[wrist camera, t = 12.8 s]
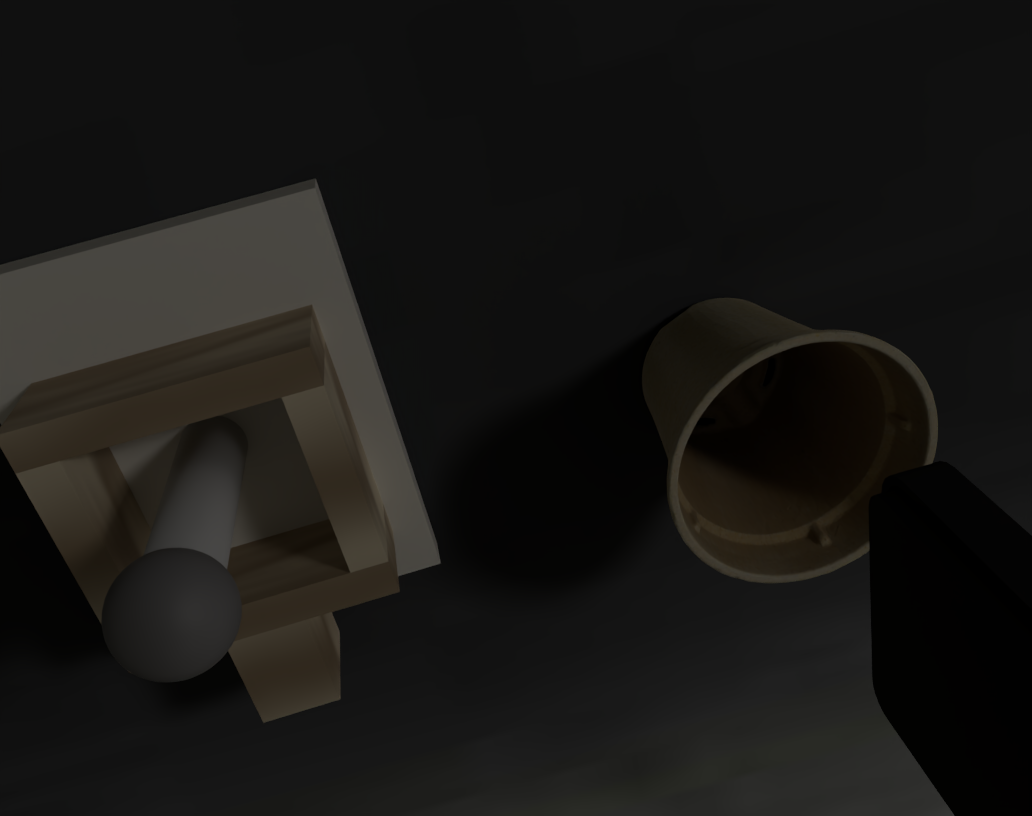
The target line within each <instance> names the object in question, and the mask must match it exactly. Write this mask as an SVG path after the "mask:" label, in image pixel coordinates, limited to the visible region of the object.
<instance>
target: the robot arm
mask: <svg viewBox="0 0 1032 816" xmlns="http://www.w3.org/2000/svg"><path fill="white" fill-rule="evenodd" d="M869 550H870V592H871V635H872V677H873V686H874V690H875V694H876V697H877V699H878V702H879V704H880V706H881V709H882V711H883V712H884V714H885V716H886V717H887V719H888V720H889V722H890V723H891V725H892V726H893V728H894V729H895V730H896V732H897V733H898V735H899V736H900V738H901V739H902V740H903V742H904V743H905V745H906V746H907V748H908V749H909V751H910V752H911V753H912V755H913V756H914V758H915V759H916V761H917V762H918V764H919V765H920V766H921V768H922V769H923V771H924V772H925V774H926V775H927V776H928V778H929V779H930V781H931V782H932V784H933V785H934V787H935V788H936V789H937V791H938V792H939V794H940V795H941V797H942V798H943V800H944V801H945V802H946V804H947V805H948V807H949V808H950V810H951V811H952V812H953V814H954V815H955V816H1032V536H1031V535H1030V534H1029V533H1028V532H1027V531H1026V530H1024V529H1023V528H1022V527H1021V526H1020V525H1019V524H1018V523H1016V522H1015V521H1014V520H1013V519H1012V518H1011V517H1010V516H1009V515H1007V514H1006V513H1005V512H1004V511H1003V510H1002V509H1001V508H1000V507H998V506H997V505H996V504H995V503H994V502H993V501H992V500H991V499H989V498H988V497H987V496H986V495H985V494H984V493H983V492H982V491H980V490H979V489H978V488H977V487H976V486H975V485H974V484H972V483H971V482H970V481H969V480H968V479H967V478H966V477H965V476H963V475H962V474H961V473H960V472H959V471H958V470H957V469H956V468H954V467H953V466H951V465H950V464H948V463H947V462H942V461H939V462H935V463H932V464H928V465H925V466H921V467H918V468H914V469H911V470H907V471H904V472H900V473H897V474H893V475H890V476H888V477H886V478H885V479H884V482H883V484H882V491H881V493H880V494H877V495H874V496H872V497H871V498H870V501H869Z"/></svg>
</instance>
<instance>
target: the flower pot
mask: <svg viewBox="0 0 1032 816" xmlns="http://www.w3.org/2000/svg"><path fill="white" fill-rule="evenodd" d="M771 358H774V359H775V371H774V376H773V378H772V380H771V381H770V382H769V383H768V384H767V385H766V386H763V383H764V379H765V375H766V372H767V369H768V361H769V360H770V359H771ZM642 388H643V394H644V398H645V401H646V404H647V406H648V408H649V410H650V413H651V415H652V417H653V419H654V422H655V424H656V427H657V430H658V432H659V435H660V438H661V441H662V443H663V446H664V449H665V452H666V454H667V457H668V470H667V497H668V503H669V508H670V512H671V515H672V518H673V521H674V523H675V526H676V528H677V530H678V531H679V533H680V535H681V537H682V539H683V540H684V542H685V543H686V544H687V546H688V547H689V548H690V550H691V551H692V552H693V553H694V554H695V555H696V556H697V557H698V558H699V559H700V560H702V561H703V562H704V563H706V564H707V565H709V566H710V567H712V568H714V569H715V570H717V571H719V572H720V573H722V574H725V575H728V576H730V577H735V578H737V579H743V580H745V581H749V582H759V583H786V582H793V581H800V580H806V579H810V578H813V577H817V576H819V575H822V574H826V573H830V572H832V571H834V570H836V569H838V568H840V567H842V566H844V565H846V564H848V563H850V562H852V561H854V560H856V559H858V558H859V557H861V556H862V555H863V554H865V553H867V552H868V551H869V501H870V498H871V497H872V496H874V495H877V494H880V493H881V491H882V484H883V482H884V479H885V478H886V477H888V476H890V475H893V474H897V473H900V472H904V471H907V470H911V469H914V468H918V467H921V466H925V465H928V464H932V463H933V460H934V456H935V451H936V445H937V436H938V420H937V412H936V407H935V402H934V399H933V394H932V391H931V390H930V388H929V385H928V383H927V381H926V379H925V378H924V376H923V374H922V373H921V371H920V370H919V369H918V367H917V366H916V365H915V364H914V363H913V362H912V361H911V359H910V358H909V357H907V356H906V355H905V354H903V353H902V352H901V351H900V350H898V349H896V348H895V347H893V346H891V345H889V344H888V343H886V342H884V341H882V340H880V339H877V338H875V337H872V336H869V335H866V334H862V333H859V332H853V331H846V330H813V329H811V328H808V327H806V326H803V325H801V324H799V323H796V322H794V321H792V320H789V319H787V318H785V317H782V316H780V315H778V314H776V313H773V312H771V311H769V310H767V309H765V308H762V307H760V306H758V305H756V304H754V303H752V302H749V301H746V300H742V299H736V298H716V299H710V300H706V301H702V302H699V303H697V304H694V305H692V306H691V307H689V308H688V309H687V310H686V311H684V312H683V313H682V314H680V315H679V316H678V317H676V318H675V319H674V320H672V321H671V322H669V323H668V324H667V325H666V326H664V327H663V328H662V329H661V330H660V331H659V332H658V334H657V335H656V337H655V338H654V340H653V342H652V344H651V346H650V348H649V350H648V352H647V354H646V357H645V360H644V365H643V371H642ZM699 418H714V419H715V423H710V424H707V425H696V423H697V421H698V420H699Z"/></svg>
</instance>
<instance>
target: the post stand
mask: <svg viewBox="0 0 1032 816" xmlns="http://www.w3.org/2000/svg"><path fill="white" fill-rule="evenodd" d="M308 305H313V308H314V311H315V314H316V317H317V319H318V322H319V325H320V328H321V331H322V333H323V336H324V339H325V342H326V345H327V347H328V350H329V353H330V356H331V359H332V361H333V364H334V367H335V370H336V373H337V376H338V378H339V381H340V384H341V387H342V390H343V392H344V395H345V398H346V401H347V404H348V406H349V409H350V412H351V415H352V418H353V420H354V423H355V426H356V429H357V432H358V434H359V437H360V440H361V443H362V446H363V448H364V451H365V454H366V457H367V460H368V462H369V465H370V468H371V471H372V474H373V476H374V479H375V482H376V485H377V488H378V490H379V493H380V496H381V499H382V502H383V504H384V507H385V510H386V513H387V516H388V518H389V521H390V524H391V527H392V530H393V535H394V544H395V554H396V563H397V572H398V576H400V575H403V574H407V573H410V572H413V571H417V570H420V569H423V568H427V567H430V566H433V565H437V564H440V557H439V552H438V546H437V542H436V539H435V536H434V533H433V530H432V527H431V524H430V521H429V518H428V515H427V512H426V509H425V506H424V503H423V500H422V497H421V494H420V491H419V488H418V485H417V482H416V479H415V476H414V473H413V470H412V467H411V464H410V460H409V457H408V454H407V451H406V448H405V445H404V442H403V439H402V436H401V433H400V430H399V427H398V424H397V421H396V418H395V415H394V412H393V409H392V406H391V403H390V400H389V397H388V394H387V391H386V388H385V385H384V382H383V379H382V376H381V373H380V370H379V367H378V364H377V361H376V358H375V355H374V352H373V349H372V346H371V343H370V340H369V337H368V334H367V331H366V328H365V325H364V322H363V319H362V316H361V313H360V310H359V307H358V304H357V301H356V298H355V295H354V292H353V289H352V286H351V283H350V280H349V277H348V274H347V271H346V268H345V265H344V262H343V259H342V256H341V253H340V250H339V247H338V244H337V241H336V238H335V235H334V232H333V229H332V226H331V223H330V220H329V217H328V214H327V211H326V208H325V205H324V202H323V199H322V196H321V193H320V190H319V187H318V184H317V181H316V178H315V179H312V180H308V181H304V182H301V183H297V184H293V185H290V186H286V187H282V188H279V189H275V190H271V191H268V192H264V193H261V194H257V195H253V196H250V197H246V198H242V199H239V200H235V201H231V202H228V203H224V204H220V205H217V206H213V207H210V208H206V209H202V210H199V211H195V212H191V213H188V214H184V215H180V216H177V217H173V218H169V219H166V220H162V221H159V222H155V223H151V224H148V225H144V226H140V227H137V228H133V229H129V230H126V231H122V232H118V233H115V234H111V235H108V236H104V237H100V238H97V239H93V240H89V241H86V242H82V243H78V244H75V245H71V246H67V247H64V248H60V249H56V250H53V251H49V252H46V253H42V254H38V255H35V256H31V257H27V258H24V259H20V260H16V261H13V262H9V263H5V264H2V265H0V424H1V425H2V424H3V423H4V421H5V420H6V419H7V417H8V416H9V414H10V413H11V411H12V410H13V409H14V407H15V406H16V404H17V403H18V402H19V400H20V399H21V397H22V396H23V395H24V393H25V392H26V390H27V389H28V387H29V386H30V385H31V383H35V382H38V381H42V380H45V379H49V378H52V377H56V376H60V375H63V374H67V373H70V372H74V371H77V370H81V369H84V368H88V367H92V366H95V365H99V364H102V363H106V362H109V361H113V360H116V359H120V358H124V357H127V356H131V355H134V354H138V353H141V352H145V351H148V350H152V349H155V348H159V347H163V346H166V345H170V344H173V343H177V342H180V341H184V340H187V339H191V338H195V337H198V336H202V335H205V334H209V333H212V332H216V331H219V330H223V329H227V328H230V327H234V326H237V325H241V324H244V323H248V322H251V321H255V320H259V319H262V318H266V317H269V316H273V315H276V314H280V313H283V312H287V311H291V310H294V309H298V308H301V307H305V306H308ZM109 448H110V450H111V452H112V454H113V456H114V458H115V460H116V462H117V464H118V466H119V468H120V470H121V472H122V474H123V476H124V477H125V479H126V481H127V483H128V485H129V487H130V489H131V491H132V493H133V495H134V497H135V499H136V501H137V503H138V505H139V507H140V509H141V511H142V513H143V515H144V517H145V519H146V521H147V523H148V525H149V527H150V529H151V533H150V536H149V539H148V542H147V545H146V549H145V552H144V555H143V556H141V557H139V558H138V559H136V560H135V561H133V562H132V563H130V564H129V565H128V566H127V567H126V568H125V569H123V570H122V571H121V573H120V574H119V575H118V576H117V577H116V579H115V580H114V581H113V583H112V585H111V586H110V588H109V590H108V592H107V595H106V597H105V600H104V604H103V609H102V620H101V624H102V632H103V636H104V639H105V642H106V645H107V647H108V649H109V651H110V652H111V654H112V655H113V657H114V658H115V659H116V660H117V662H118V663H119V664H120V665H121V666H123V667H124V668H125V669H126V670H128V671H129V672H131V673H132V674H134V675H136V676H138V677H141V678H144V679H147V680H151V681H156V682H177V681H183V680H187V679H190V678H193V677H195V676H197V675H199V674H201V673H203V672H205V671H207V670H208V669H210V668H211V667H213V666H214V665H215V664H216V663H217V662H219V661H220V660H221V659H222V658H223V656H224V655H225V654H226V653H227V651H228V650H229V649H230V647H231V646H232V644H233V642H234V640H235V638H236V636H237V633H238V630H239V627H240V623H241V616H242V603H241V598H240V593H239V590H238V587H237V585H236V583H235V581H234V579H233V577H232V575H231V574H230V573H229V572H228V570H227V567H228V561H229V555H230V550H231V548H232V547H236V546H239V545H243V544H246V543H249V542H253V541H256V540H260V539H263V538H266V537H270V536H273V535H277V534H280V533H283V532H287V531H290V530H294V529H297V528H300V527H304V526H307V525H311V524H314V523H317V522H321V521H324V520H327V519H329V517H328V515H327V512H326V509H325V507H324V504H323V502H322V499H321V497H320V494H319V492H318V489H317V487H316V484H315V481H314V479H313V476H312V474H311V471H310V469H309V466H308V464H307V461H306V459H305V456H304V454H303V451H302V448H301V446H300V443H299V441H298V438H297V436H296V433H295V431H294V428H293V426H292V423H291V420H290V418H289V415H288V413H287V410H286V408H285V405H284V403H283V400H282V398H278V399H275V400H271V401H268V402H264V403H261V404H257V405H254V406H250V407H247V408H243V409H240V410H236V411H233V412H229V413H226V414H222V415H219V416H215V417H212V418H208V419H205V420H201V421H198V422H194V423H191V424H187V425H184V426H180V427H177V428H173V429H170V430H166V431H163V432H159V433H156V434H153V435H149V436H146V437H142V438H139V439H135V440H132V441H128V442H125V443H121V444H118V445H114V446H111V447H109Z"/></svg>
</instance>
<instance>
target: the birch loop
mask: <svg viewBox="0 0 1032 816" xmlns="http://www.w3.org/2000/svg"><path fill="white" fill-rule="evenodd" d="M278 398H282V400H283V403H284V405H285V408H286V410H287V413H288V415H289V418H290V420H291V423H292V426H293V428H294V431H295V433H296V436H297V438H298V441H299V443H300V446H301V448H302V451H303V454H304V456H305V459H306V461H307V464H308V466H309V469H310V471H311V474H312V476H313V479H314V481H315V484H316V487H317V489H318V492H319V494H320V497H321V499H322V502H323V504H324V507H325V509H326V512H327V515H328V517H329V519H327V520H324V521H321V522H317V523H314V524H311V525H307V526H304V527H300V528H297V529H294V530H290V531H287V532H283V533H280V534H277V535H273V536H270V537H266V538H263V539H260V540H256V541H253V542H249V543H246V544H243V545H239V546H236V547H232V548H231V550H230V555H229V561H228V567H227V570H228V572H229V573H230V574H231V575H232V577H233V579H234V581H235V583H236V585H237V587H238V590H239V593H240V598H241V603H242V616H241V623H240V627H239V630H238V633H237V636H236V638H235V640H234V642H233V644H232V646H231V647H230V649H229V650H228V652H229V654H230V656H231V658H232V660H233V662H234V664H235V666H236V668H237V670H238V672H239V674H240V676H241V678H242V680H243V682H244V684H245V686H246V688H247V690H248V692H249V694H250V696H251V698H252V700H253V702H254V704H255V706H256V708H257V710H258V712H259V714H260V716H261V718H262V720H263V722H267V721H271V720H274V719H277V718H280V717H284V716H287V715H290V714H293V713H297V712H300V711H303V710H307V709H310V708H313V707H316V706H320V705H323V704H326V703H329V702H333V701H336V700H339V699H340V631H339V629H338V627H337V624H336V622H335V619H334V617H333V615H332V612H334V611H337V610H340V609H344V608H347V607H350V606H354V605H357V604H360V603H364V602H367V601H370V600H374V599H377V598H380V597H384V596H387V595H390V594H394V593H397V592H400V591H399V582H398V572H397V563H396V554H395V544H394V535H393V530H392V527H391V524H390V521H389V518H388V516H387V513H386V510H385V507H384V504H383V502H382V499H381V496H380V493H379V490H378V488H377V485H376V482H375V479H374V476H373V474H372V471H371V468H370V465H369V462H368V460H367V457H366V454H365V451H364V448H363V446H362V443H361V440H360V437H359V434H358V432H357V429H356V426H355V423H354V420H353V418H352V415H351V412H350V409H349V406H348V404H347V401H346V398H345V395H344V392H343V390H342V387H341V384H340V381H339V378H338V376H337V373H336V370H335V367H334V364H333V361H332V359H331V356H330V353H329V350H328V347H327V345H326V342H325V339H324V336H323V333H322V331H321V328H320V325H319V322H318V319H317V317H316V314H315V311H314V308H313V305H308V306H305V307H301V308H298V309H294V310H291V311H287V312H283V313H280V314H276V315H273V316H269V317H266V318H262V319H259V320H255V321H251V322H248V323H244V324H241V325H237V326H234V327H230V328H227V329H223V330H219V331H216V332H212V333H209V334H205V335H202V336H198V337H195V338H191V339H187V340H184V341H180V342H177V343H173V344H170V345H166V346H163V347H159V348H155V349H152V350H148V351H145V352H141V353H138V354H134V355H131V356H127V357H124V358H120V359H116V360H113V361H109V362H106V363H102V364H99V365H95V366H92V367H88V368H84V369H81V370H77V371H74V372H70V373H67V374H63V375H60V376H56V377H52V378H49V379H45V380H42V381H38V382H35V383H31V385H30V386H29V387H28V389H27V390H26V392H25V393H24V395H23V396H22V397H21V399H20V400H19V402H18V403H17V404H16V406H15V407H14V409H13V410H12V411H11V413H10V414H9V416H8V417H7V419H6V420H5V421H4V423H3V424H2V426H1V427H0V447H1V449H2V451H3V453H4V454H5V456H6V458H7V460H8V461H9V463H10V465H11V467H12V468H13V470H14V472H15V474H16V475H17V477H18V479H19V481H20V482H21V484H22V486H23V488H24V489H25V491H26V493H27V495H28V497H29V498H30V500H31V502H32V504H33V505H34V507H35V509H36V511H37V512H38V514H39V516H40V518H41V519H42V521H43V523H44V525H45V526H46V528H47V530H48V532H49V533H50V535H51V537H52V539H53V540H54V542H55V544H56V546H57V547H58V549H59V551H60V553H61V554H62V556H63V558H64V560H65V561H66V563H67V565H68V567H69V568H70V570H71V572H72V574H73V575H74V577H75V579H76V581H77V582H78V584H79V586H80V588H81V589H82V591H83V593H84V595H85V596H86V598H87V600H88V602H89V603H90V605H91V607H92V609H93V611H94V612H95V614H96V616H97V618H98V619H99V621H100V623H101V620H102V609H103V604H104V600H105V597H106V595H107V592H108V590H109V588H110V586H111V585H112V583H113V581H114V580H115V579H116V577H117V576H118V575H119V574H120V573H121V571H122V570H123V569H125V568H126V567H127V566H128V565H129V564H130V563H132V562H133V561H135V560H136V559H138V558H139V557H141V556H143V555H144V552H145V549H146V545H147V542H148V539H149V536H150V533H151V529H150V527H149V525H148V523H147V521H146V519H145V517H144V515H143V513H142V511H141V509H140V507H139V505H138V503H137V501H136V499H135V497H134V495H133V493H132V491H131V489H130V487H129V485H128V483H127V481H126V479H125V477H124V476H123V474H122V472H121V470H120V468H119V466H118V464H117V462H116V460H115V458H114V456H113V454H112V452H111V450H110V448H109V447H111V446H114V445H118V444H121V443H125V442H128V441H132V440H135V439H139V438H142V437H146V436H149V435H153V434H156V433H159V432H163V431H166V430H170V429H173V428H177V427H180V426H184V425H187V424H191V423H194V422H198V421H201V420H205V419H208V418H212V417H215V416H219V415H222V414H226V413H229V412H233V411H236V410H240V409H243V408H247V407H250V406H254V405H257V404H261V403H264V402H268V401H271V400H275V399H278ZM101 625H102V624H101ZM128 672H129V671H128ZM129 673H131V672H129Z"/></svg>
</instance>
